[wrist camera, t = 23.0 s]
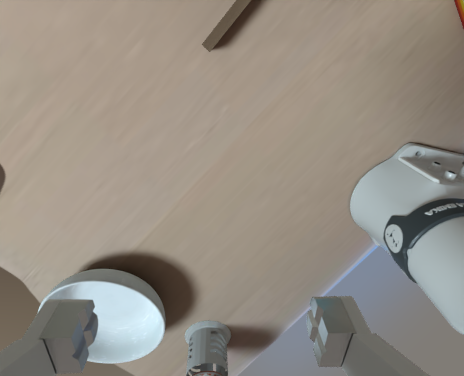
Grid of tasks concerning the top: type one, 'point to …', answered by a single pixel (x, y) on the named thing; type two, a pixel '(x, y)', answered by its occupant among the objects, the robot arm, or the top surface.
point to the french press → (207, 348)
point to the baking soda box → (460, 9)
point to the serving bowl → (117, 313)
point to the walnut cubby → (225, 23)
